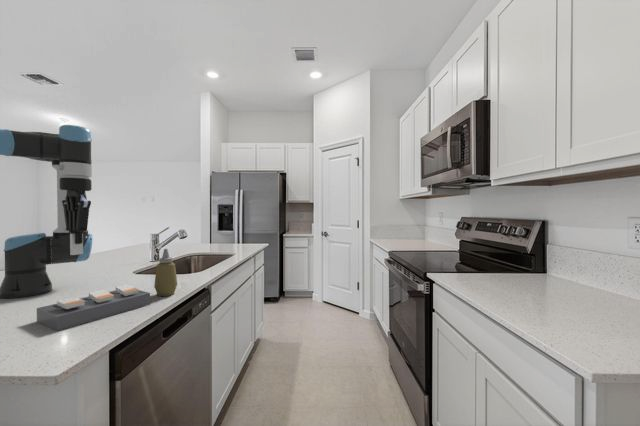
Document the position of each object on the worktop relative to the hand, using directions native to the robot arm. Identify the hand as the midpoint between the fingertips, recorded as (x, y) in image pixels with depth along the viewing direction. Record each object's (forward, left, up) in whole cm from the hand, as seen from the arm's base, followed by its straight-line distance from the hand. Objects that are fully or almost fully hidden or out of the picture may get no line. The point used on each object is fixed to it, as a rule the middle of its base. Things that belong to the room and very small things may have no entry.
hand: (76, 254), depth 91 cm
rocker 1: (+2, -2, -14) cm, 15 cm away
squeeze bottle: (+1, +29, -20) cm, 35 cm away
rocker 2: (+2, +14, -14) cm, 20 cm away
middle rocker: (+2, +6, -14) cm, 15 cm away
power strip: (-3, +6, -20) cm, 21 cm away
